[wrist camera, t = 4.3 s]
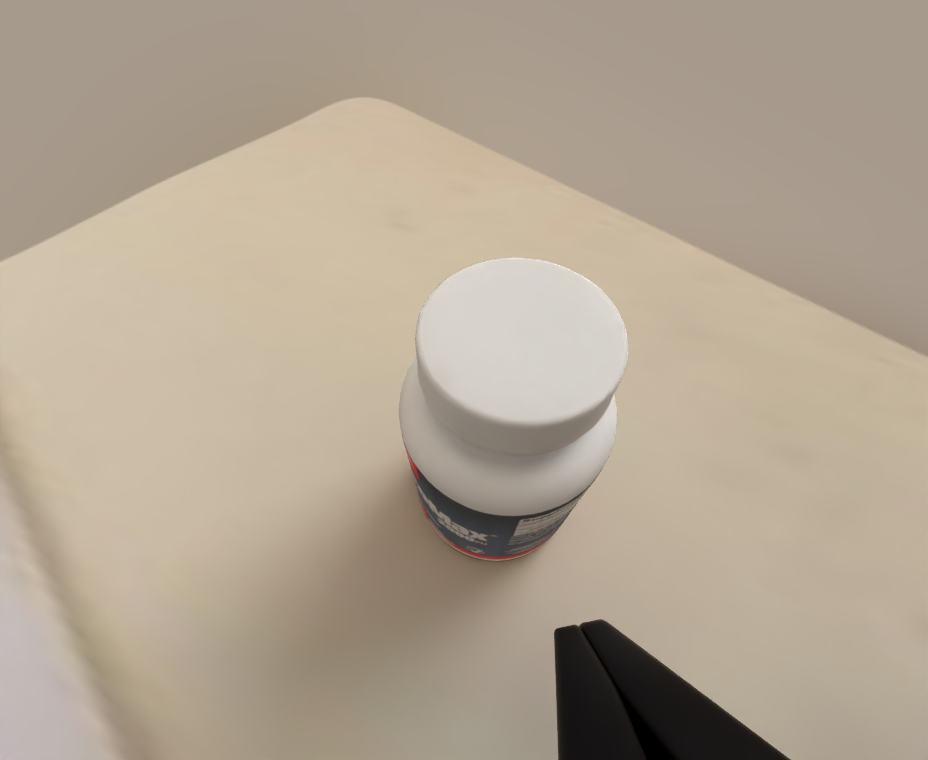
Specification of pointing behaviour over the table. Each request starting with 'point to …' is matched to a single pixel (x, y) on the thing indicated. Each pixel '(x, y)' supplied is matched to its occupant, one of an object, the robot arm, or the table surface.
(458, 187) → the table surface
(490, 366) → the pill bottle
